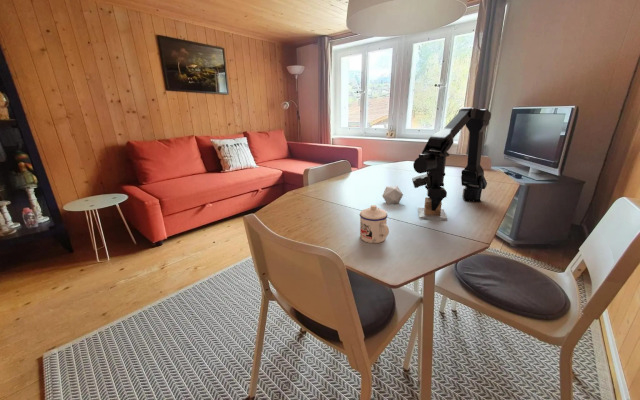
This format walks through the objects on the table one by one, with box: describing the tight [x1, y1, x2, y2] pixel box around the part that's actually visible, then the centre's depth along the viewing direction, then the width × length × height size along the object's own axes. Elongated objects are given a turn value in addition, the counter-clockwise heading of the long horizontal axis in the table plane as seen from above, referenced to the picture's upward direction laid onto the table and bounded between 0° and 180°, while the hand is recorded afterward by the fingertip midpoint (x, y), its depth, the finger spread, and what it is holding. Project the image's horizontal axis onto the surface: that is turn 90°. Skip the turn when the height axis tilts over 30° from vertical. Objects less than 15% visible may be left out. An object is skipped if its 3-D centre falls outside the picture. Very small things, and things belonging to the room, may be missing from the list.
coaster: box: [417, 207, 448, 221], centre depth 105 cm, size 10×10×1 cm
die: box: [381, 185, 404, 205], centre depth 118 cm, size 8×9×10 cm
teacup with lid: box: [359, 204, 390, 244], centre depth 86 cm, size 12×9×12 cm
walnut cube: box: [423, 196, 442, 216], centre depth 104 cm, size 6×6×6 cm
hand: (432, 207), depth 104 cm, fingers open, 7 cm apart
